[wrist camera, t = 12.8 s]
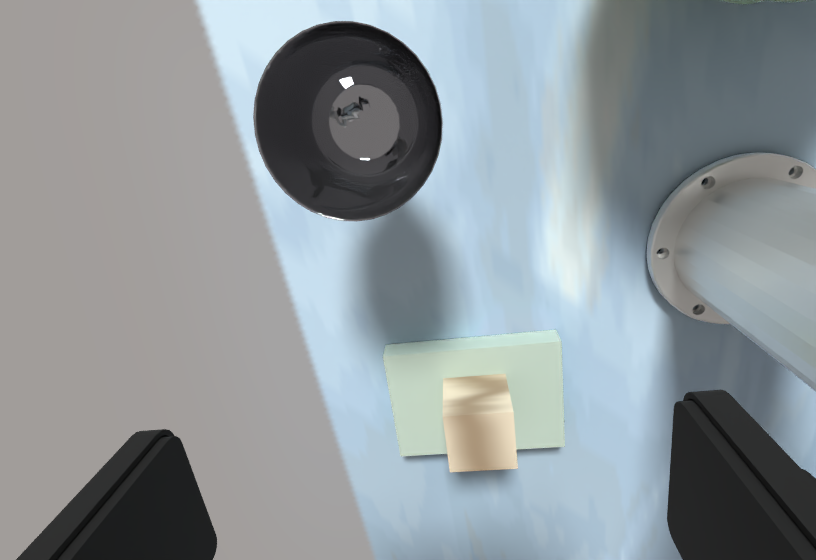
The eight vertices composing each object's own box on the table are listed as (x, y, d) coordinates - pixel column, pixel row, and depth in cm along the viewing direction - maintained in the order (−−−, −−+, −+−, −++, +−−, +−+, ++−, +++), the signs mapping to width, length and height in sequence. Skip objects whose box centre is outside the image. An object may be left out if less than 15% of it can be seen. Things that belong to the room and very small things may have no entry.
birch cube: (505, 373, 38) (513, 411, 33) (509, 425, 40) (517, 468, 35) (443, 378, 39) (442, 416, 34) (449, 429, 40) (449, 472, 36)
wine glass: (467, 102, 33) (483, 106, 19) (400, 194, 36) (371, 256, 22) (373, 28, 32) (317, -28, 18) (312, 128, 34) (219, 148, 20)
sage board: (555, 329, 39) (561, 341, 37) (559, 431, 42) (564, 446, 40) (385, 344, 40) (382, 356, 38) (402, 441, 44) (400, 456, 42)
